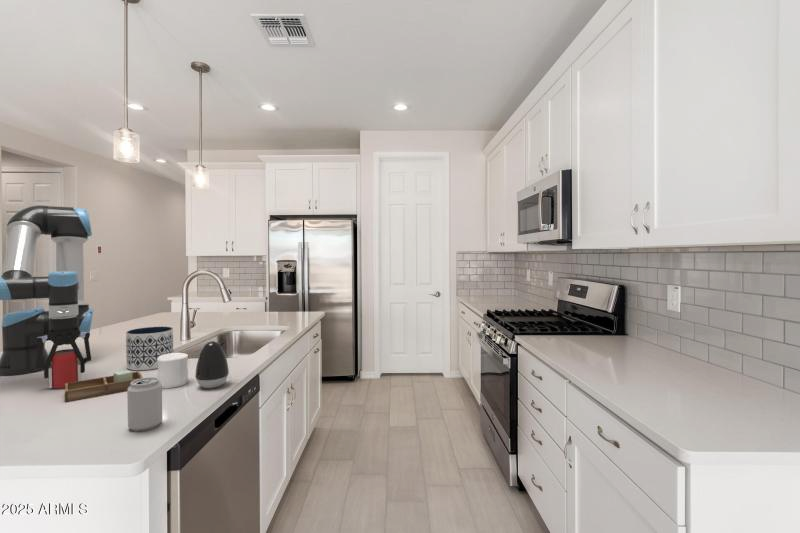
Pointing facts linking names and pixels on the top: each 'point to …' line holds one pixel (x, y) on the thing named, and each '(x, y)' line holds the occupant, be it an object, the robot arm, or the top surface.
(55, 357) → the beer can
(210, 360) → the egg shaped speaker
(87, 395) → the tray
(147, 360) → the planter
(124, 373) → the sage block
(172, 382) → the cup
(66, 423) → the top surface
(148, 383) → the can
